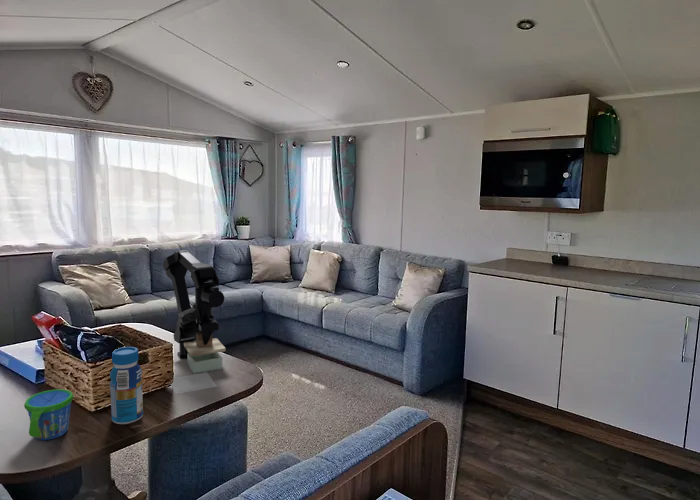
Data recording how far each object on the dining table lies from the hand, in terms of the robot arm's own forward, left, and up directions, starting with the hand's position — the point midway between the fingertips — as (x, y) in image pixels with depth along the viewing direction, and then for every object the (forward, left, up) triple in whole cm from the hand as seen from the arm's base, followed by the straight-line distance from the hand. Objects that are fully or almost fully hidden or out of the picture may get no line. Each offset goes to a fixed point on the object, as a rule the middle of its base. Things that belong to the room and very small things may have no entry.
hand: (204, 343), depth 170 cm
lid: (0, 0, -2) cm, 2 cm away
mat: (+12, -7, -9) cm, 17 cm away
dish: (0, 0, -9) cm, 9 cm away
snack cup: (+27, -46, -9) cm, 55 cm away
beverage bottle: (+27, -28, -9) cm, 40 cm away
